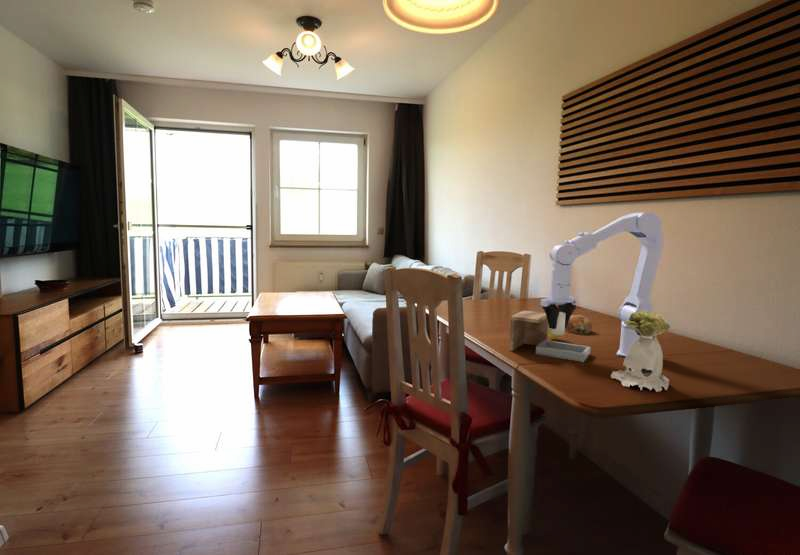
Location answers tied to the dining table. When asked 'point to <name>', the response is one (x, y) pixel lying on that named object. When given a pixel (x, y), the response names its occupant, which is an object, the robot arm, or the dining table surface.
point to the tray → (563, 350)
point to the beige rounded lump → (559, 325)
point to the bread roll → (578, 324)
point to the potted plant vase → (644, 353)
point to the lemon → (552, 334)
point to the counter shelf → (528, 329)
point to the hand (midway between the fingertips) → (557, 327)
